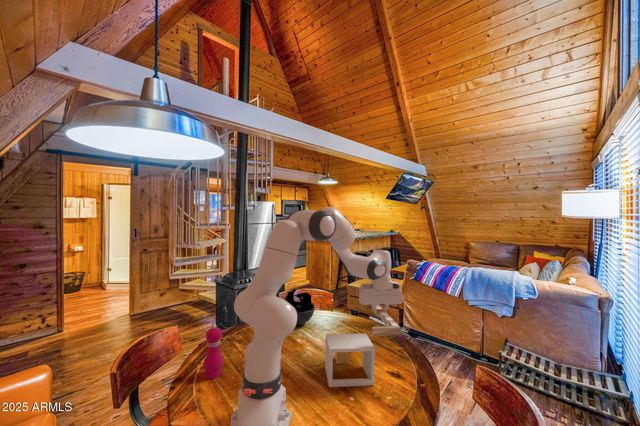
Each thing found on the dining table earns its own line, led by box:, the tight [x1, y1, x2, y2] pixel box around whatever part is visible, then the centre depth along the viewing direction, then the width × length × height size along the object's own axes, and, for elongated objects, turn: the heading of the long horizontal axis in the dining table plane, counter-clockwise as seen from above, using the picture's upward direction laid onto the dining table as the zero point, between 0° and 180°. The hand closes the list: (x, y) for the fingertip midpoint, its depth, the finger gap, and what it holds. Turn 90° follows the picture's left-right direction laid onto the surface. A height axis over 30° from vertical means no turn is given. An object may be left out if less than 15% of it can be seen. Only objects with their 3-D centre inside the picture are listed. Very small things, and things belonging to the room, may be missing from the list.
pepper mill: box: [203, 324, 224, 380], centre depth 106 cm, size 7×7×20 cm
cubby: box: [324, 333, 376, 388], centre depth 107 cm, size 12×17×14 cm
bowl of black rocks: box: [284, 288, 315, 326], centre depth 157 cm, size 20×20×19 cm
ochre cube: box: [334, 352, 349, 365], centre depth 118 cm, size 5×5×5 cm
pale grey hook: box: [366, 304, 402, 337], centre depth 121 cm, size 35×12×3 cm, turn 6°
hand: (380, 313), depth 124 cm, fingers closed on pale grey hook, 2 cm apart
